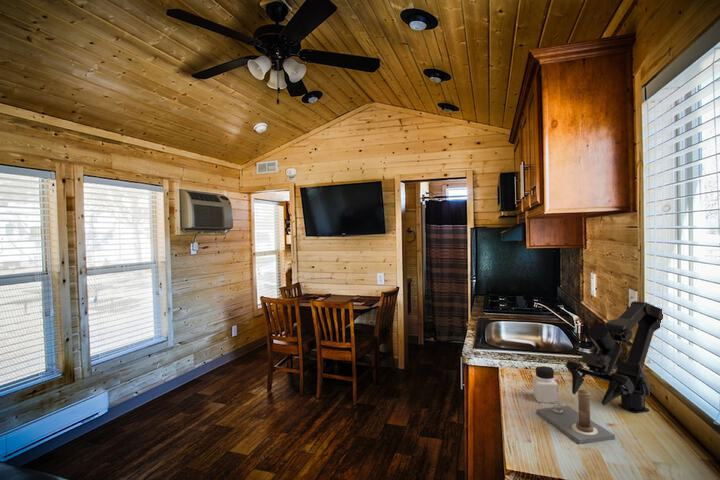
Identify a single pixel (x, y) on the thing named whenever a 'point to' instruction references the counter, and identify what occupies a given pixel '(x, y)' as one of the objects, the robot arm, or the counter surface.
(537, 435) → the counter surface
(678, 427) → the counter surface
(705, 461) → the counter surface
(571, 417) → the board
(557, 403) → the steel pin
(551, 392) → the medicine bottle
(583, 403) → the walnut peg
